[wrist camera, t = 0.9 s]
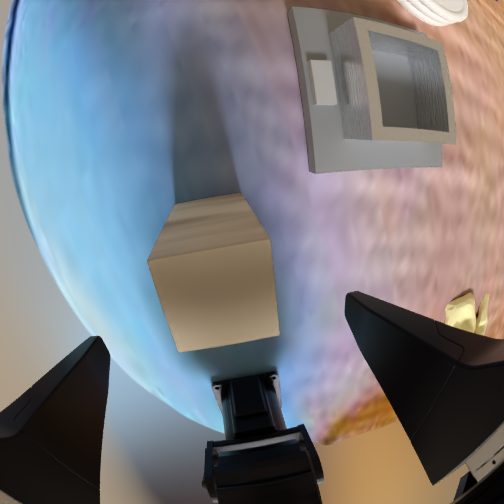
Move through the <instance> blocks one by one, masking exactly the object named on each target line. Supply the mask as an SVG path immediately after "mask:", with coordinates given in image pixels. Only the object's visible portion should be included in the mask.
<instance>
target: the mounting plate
mask: <svg viewBox="0 0 504 504" xmlns="http://www.w3.org/2000/svg"><path fill="white" fill-rule="evenodd" d="M287 14H288V19H289V24H290V29H291V35H292V40H293V46H294V52H295V57H296V64H297V70H298V77H299V83H300V90H301V98H302V105H303V113H304V122H305V131H306V140H307V150H308V161H309V172H312V173H315V174H319V173H330V172H341V171H354V170H369V169H387V168H415V167H442V143H432V142H416V141H385V140H359V139H344V137H343V126H342V116H341V108H340V99H339V92H338V85H337V78H336V72H335V65H334V60H333V54H332V49H331V43H330V38H329V34H330V33H331V32H332V31H334V30H335V29H337V28H338V27H339V26H341V25H342V24H344V23H345V22H346V21H348V20H349V19H351V18H352V17H356V18H361V19H366V20H370V21H375V22H379V23H383V24H387V25H390V26H394V27H397V28H401V29H404V30H407V31H410V32H413V33H416V34H419V35H422V36H425V37H427V35H426V34H424V33H421V32H419V31H416V30H413V29H410V28H407V27H403V26H400V25H397V24H393V23H390V22H386V21H382V20H379V19H374V18H370V17H366V16H361V15H356V14H351V13H345V12H339V11H333V10H326V9H317V8H307V7H294V6H292V7H291V9H290V10H289V11H288V13H287ZM372 52H373V58H374V63H375V69H376V75H377V81H378V88H379V96H380V104H381V113H382V124H383V127H400V128H413V129H417V119H416V108H415V99H414V92H413V84H412V78H411V72H410V66H409V61H408V57H404V56H399V55H395V54H391V53H386V52H381V51H376V50H372Z"/></svg>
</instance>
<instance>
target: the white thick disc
mask: <svg viewBox="0 0 504 504" xmlns="http://www.w3.org/2000/svg"><path fill="white" fill-rule="evenodd" d="M396 1H397V2H398V3H399V4H400V5H401V6H403V7H404V8H405V9H406V10H407V11H409V12H410V13H411V14H412V15H414V16H415V17H417V18H418V19H420V20H422V21H423V22H426V23H428V24H431V25H434V26H445V25H447V24H453V23H455V22H461V21H463V20H464V19H465V18H466V17H467V14H468V4H467V0H396Z"/></svg>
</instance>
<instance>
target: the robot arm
mask: <svg viewBox="0 0 504 504" xmlns="http://www.w3.org/2000/svg"><path fill="white" fill-rule="evenodd" d="M345 317H346V320H347V322H348V324H349V326H350V329H351V331H352V333H353V335H354V338H355V340H356V342H357V345H358V347H359V349H360V351H361V353H362V355H363V356H364V358H365V360H366V361H367V363H368V365H369V367H370V368H371V370H372V372H373V374H374V375H375V377H376V379H377V381H378V382H379V384H380V386H381V388H382V389H383V391H384V393H385V395H386V397H387V398H388V400H389V402H390V404H391V406H392V407H393V409H394V411H395V413H396V415H397V417H398V419H399V420H400V422H401V424H402V426H403V428H404V430H405V432H406V434H407V436H408V437H409V439H410V440H411V444H412V446H413V447H414V449H415V451H416V453H417V455H418V457H419V459H420V461H421V463H422V465H423V467H424V469H425V471H426V473H427V475H428V478H429V480H430V482H431V483H432V485H435V484H437V483H438V482H440V481H441V480H443V479H444V478H446V477H447V476H448V475H450V474H451V473H453V472H454V471H456V470H457V469H458V468H460V467H461V466H462V465H464V464H466V465H467V467H468V468H469V470H470V471H469V472H468V473H466V474H465V475H464V476H463V477H461V479H460V482H459V486H458V489H457V492H456V495H455V498H454V501H453V502H452V503H450V504H504V339H494V338H490V337H487V336H483V335H479V334H476V333H472V332H469V331H465V330H462V329H459V328H455V327H452V326H450V325H447V324H444V323H441V322H439V321H436V320H435V321H434V320H433V319H431V318H428V317H425V316H423V315H420V314H417V313H415V312H412V311H409V310H407V309H404V308H401V307H399V306H396V305H393V304H391V303H388V302H386V301H383V300H380V299H378V298H375V297H372V296H370V295H367V294H364V293H362V292H359V291H354V292H350V293H347V294H346V299H345ZM109 370H110V353H109V351H108V349H107V347H106V345H105V343H104V342H103V340H102V338H101V337H100V336H91V337H89V338H88V339H87V340H85V341H84V342H83V343H82V344H80V345H79V346H78V347H77V348H76V349H74V350H73V351H72V352H71V353H70V354H69V355H67V356H66V357H65V358H64V359H63V360H61V361H60V362H59V363H58V364H57V365H56V366H54V367H53V368H52V369H51V370H50V371H49V372H47V373H46V374H45V375H44V376H43V377H42V378H40V380H38V381H37V382H36V383H35V384H34V385H33V386H32V388H31V387H30V388H29V389H28V390H27V391H26V392H25V393H23V394H22V395H21V396H20V397H19V398H18V399H16V400H15V401H14V402H13V403H11V405H9V406H8V407H6V408H5V409H4V410H3V411H1V412H0V504H100V490H99V489H100V466H101V450H102V438H103V428H104V419H105V411H106V404H107V397H108V387H109ZM273 376H274V377H273ZM212 390H213V393H214V395H215V398H216V400H217V403H218V405H219V408H220V410H221V413H222V415H223V421H224V430H225V438H226V440H222V441H207V448H206V449H205V467H204V476H203V480H202V486H203V488H204V489H206V490H207V491H208V493H209V495H210V497H211V499H212V501H213V502H214V503H217V502H218V503H219V504H322V500H321V496H320V491H319V487H318V484H322V483H323V482H324V476H323V470H322V466H321V462H320V459H319V456H318V454H317V452H316V450H315V447H314V445H313V443H312V441H311V439H310V437H309V434H308V432H307V430H306V428H305V426H304V424H301V425H298V426H297V427H293V428H289V429H287V428H286V425H285V421H284V418H283V415H282V411H281V396H280V385H279V376H278V373H277V372H270V373H265V374H260V375H255V376H250V377H245V378H239V379H233V380H227V381H220V382H215V383H213V384H212Z"/></svg>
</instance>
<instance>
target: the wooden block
mask: <svg viewBox="0 0 504 504" xmlns="http://www.w3.org/2000/svg"><path fill="white" fill-rule="evenodd" d="M147 262H148V266H149V269H150V272H151V275H152V279H153V282H154V285H155V288H156V291H157V294H158V297H159V300H160V303H161V306H162V309H163V312H164V314H165V317H166V320H167V323H168V325H169V328H170V331H171V333H172V336H173V339H174V341H175V344H176V346H177V349H178V351H179V352H185V351H193V350H200V349H207V348H213V347H219V346H225V345H231V344H237V343H243V342H248V341H253V340H258V339H263V338H268V337H273V336H278V335H280V334H279V322H278V311H277V301H276V290H275V280H274V270H273V260H272V251H271V241H270V238H269V236H268V235H267V233H266V231H265V230H264V228H263V227H262V225H261V223H260V222H259V220H258V219H257V217H256V215H255V214H254V212H253V211H252V209H251V207H250V206H249V204H248V203H247V201H246V199H245V198H244V196H243V195H242V193H241V192H240V193H233V194H227V195H221V196H215V197H210V198H204V199H199V200H193V201H188V202H183V203H178V204H175V205H174V207H173V209H172V211H171V213H170V215H169V217H168V219H167V221H166V223H165V225H164V227H163V229H162V231H161V233H160V235H159V237H158V239H157V241H156V243H155V245H154V247H153V249H152V252H151V254H150V256H149V258H148V260H147Z"/></svg>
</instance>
